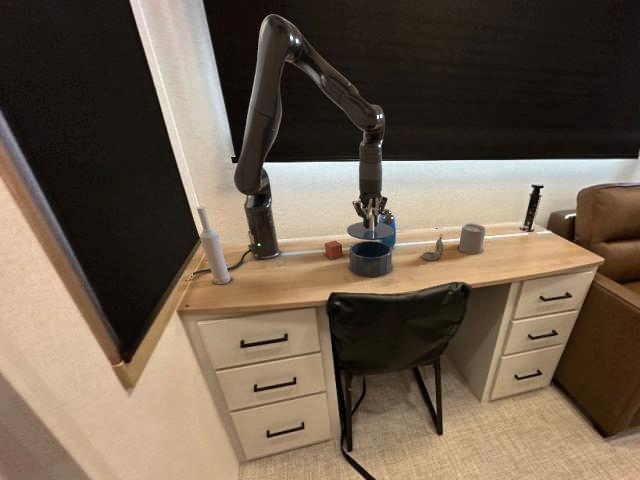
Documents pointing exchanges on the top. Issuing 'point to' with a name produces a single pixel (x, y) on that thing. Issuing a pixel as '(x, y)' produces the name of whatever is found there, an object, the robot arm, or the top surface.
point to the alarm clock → (389, 220)
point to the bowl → (370, 258)
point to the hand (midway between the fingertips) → (370, 227)
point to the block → (333, 249)
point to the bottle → (213, 250)
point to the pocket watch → (439, 251)
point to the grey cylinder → (472, 238)
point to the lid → (370, 230)
